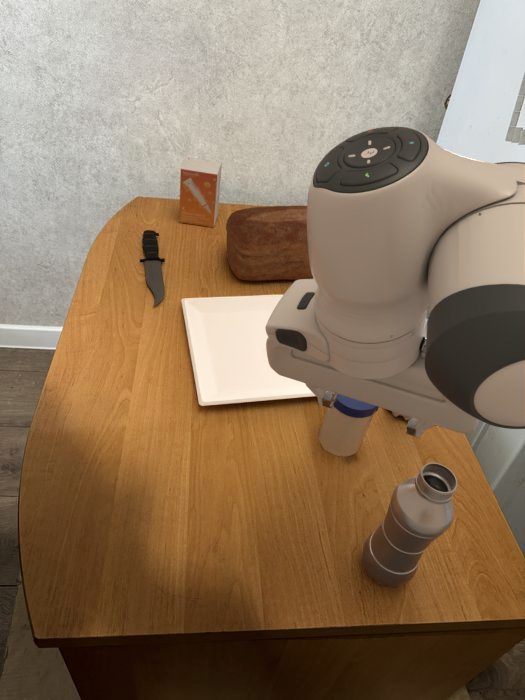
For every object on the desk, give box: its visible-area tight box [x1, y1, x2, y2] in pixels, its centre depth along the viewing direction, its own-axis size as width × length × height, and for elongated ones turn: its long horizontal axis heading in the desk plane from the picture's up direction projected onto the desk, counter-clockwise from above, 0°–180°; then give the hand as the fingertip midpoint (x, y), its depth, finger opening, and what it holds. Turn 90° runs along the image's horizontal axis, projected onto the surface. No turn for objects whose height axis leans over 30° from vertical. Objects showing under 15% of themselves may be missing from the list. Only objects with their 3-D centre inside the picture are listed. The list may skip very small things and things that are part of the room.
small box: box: [178, 156, 223, 229], centre depth 118 cm, size 8×6×13 cm
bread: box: [225, 205, 314, 282], centre depth 109 cm, size 14×28×12 cm, turn 105°
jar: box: [317, 406, 375, 457], centre depth 77 cm, size 7×7×10 cm
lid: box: [333, 394, 380, 418], centre depth 73 cm, size 7×7×2 cm
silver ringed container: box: [361, 462, 458, 588], centre depth 59 cm, size 6×7×20 cm
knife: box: [139, 229, 166, 308], centre depth 105 cm, size 25×2×5 cm
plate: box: [180, 293, 316, 407], centre depth 92 cm, size 26×26×2 cm
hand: (370, 415), depth 55 cm, fingers open, 8 cm apart
